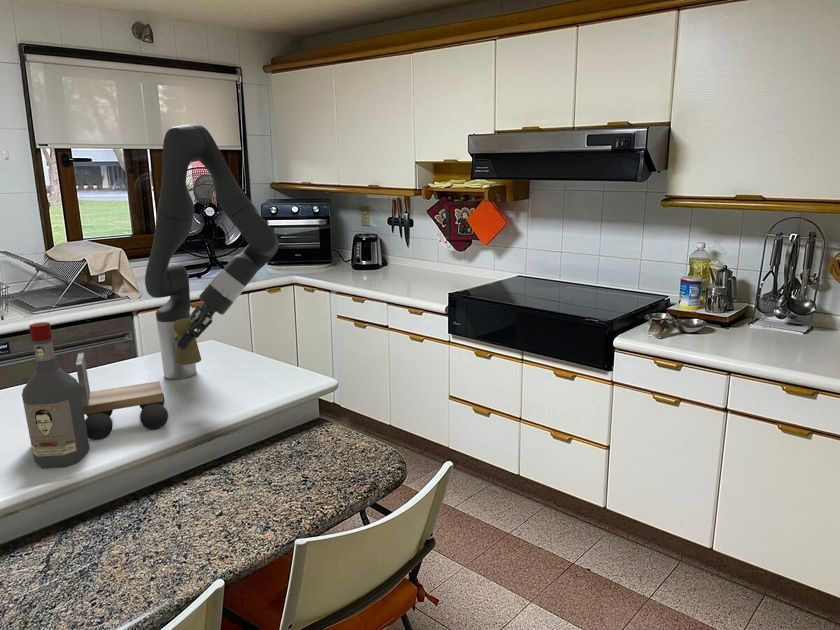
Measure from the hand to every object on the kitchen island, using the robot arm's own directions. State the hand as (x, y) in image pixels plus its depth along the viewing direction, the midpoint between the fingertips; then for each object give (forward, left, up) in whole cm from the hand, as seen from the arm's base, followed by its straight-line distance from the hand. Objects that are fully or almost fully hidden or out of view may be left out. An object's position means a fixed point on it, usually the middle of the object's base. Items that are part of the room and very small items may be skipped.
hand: (178, 344), depth 161 cm
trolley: (+4, -14, -17) cm, 22 cm away
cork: (0, +2, -5) cm, 5 cm away
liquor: (+18, -27, -17) cm, 37 cm away
